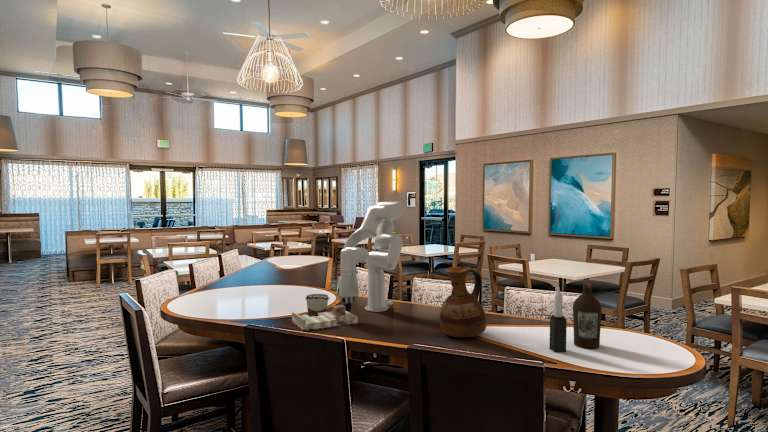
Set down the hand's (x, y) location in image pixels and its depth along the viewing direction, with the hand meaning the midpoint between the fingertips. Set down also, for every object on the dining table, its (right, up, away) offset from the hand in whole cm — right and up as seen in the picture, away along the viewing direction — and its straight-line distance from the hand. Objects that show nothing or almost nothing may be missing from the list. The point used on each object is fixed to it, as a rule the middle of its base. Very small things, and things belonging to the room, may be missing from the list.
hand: (347, 310), depth 211 cm
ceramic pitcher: (+52, -5, -24) cm, 58 cm away
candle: (+86, -6, -43) cm, 97 cm away
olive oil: (+100, -6, -38) cm, 107 cm away
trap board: (-10, -4, -6) cm, 12 cm away
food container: (-16, -4, +11) cm, 20 cm away
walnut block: (-4, -1, -2) cm, 5 cm away
